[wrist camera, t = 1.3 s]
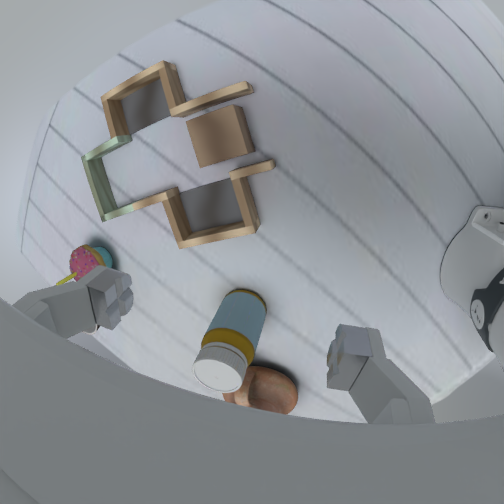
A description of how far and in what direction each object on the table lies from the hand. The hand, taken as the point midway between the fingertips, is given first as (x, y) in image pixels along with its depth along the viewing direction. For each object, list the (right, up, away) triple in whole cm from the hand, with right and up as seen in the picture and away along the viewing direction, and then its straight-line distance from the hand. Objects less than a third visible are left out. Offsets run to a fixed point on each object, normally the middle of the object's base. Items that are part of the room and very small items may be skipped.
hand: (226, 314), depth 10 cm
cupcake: (-26, +1, +36) cm, 45 cm away
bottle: (0, -6, +34) cm, 34 cm away
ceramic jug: (+3, -23, +40) cm, 46 cm away
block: (-2, +17, +24) cm, 29 cm away
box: (-10, +16, +26) cm, 32 cm away
